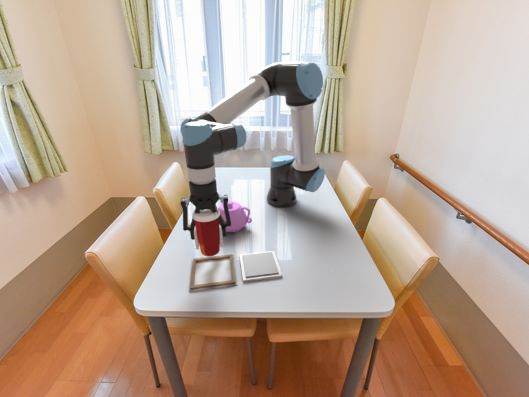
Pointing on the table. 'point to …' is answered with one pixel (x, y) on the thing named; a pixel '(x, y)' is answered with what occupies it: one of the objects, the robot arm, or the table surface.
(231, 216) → the teapot
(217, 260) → the wooden picture frame
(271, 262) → the ink pad
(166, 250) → the table surface
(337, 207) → the table surface
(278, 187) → the robot arm
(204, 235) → the coffee cup
